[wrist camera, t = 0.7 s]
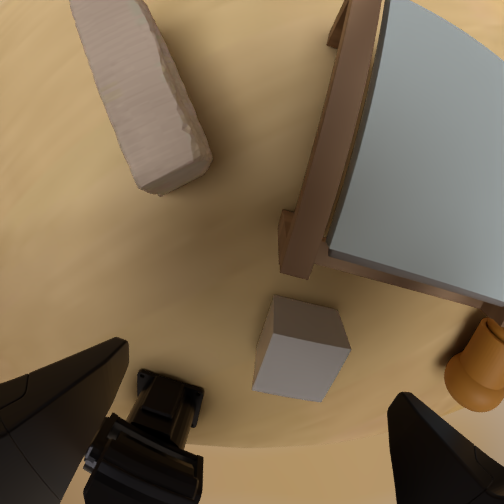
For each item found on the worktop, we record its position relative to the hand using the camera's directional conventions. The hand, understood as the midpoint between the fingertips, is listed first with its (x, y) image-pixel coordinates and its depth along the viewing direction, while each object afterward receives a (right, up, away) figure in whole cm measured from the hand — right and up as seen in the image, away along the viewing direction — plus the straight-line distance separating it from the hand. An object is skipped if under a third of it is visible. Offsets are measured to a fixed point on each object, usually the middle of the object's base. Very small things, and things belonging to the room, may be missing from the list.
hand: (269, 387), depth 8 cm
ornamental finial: (+21, -4, +13) cm, 25 cm away
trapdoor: (+10, +8, +2) cm, 13 cm away
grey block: (-6, +14, +9) cm, 18 cm away
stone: (+3, -2, +14) cm, 14 cm away
